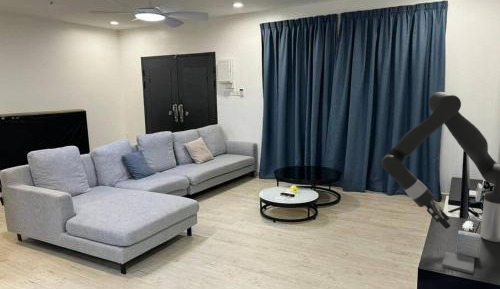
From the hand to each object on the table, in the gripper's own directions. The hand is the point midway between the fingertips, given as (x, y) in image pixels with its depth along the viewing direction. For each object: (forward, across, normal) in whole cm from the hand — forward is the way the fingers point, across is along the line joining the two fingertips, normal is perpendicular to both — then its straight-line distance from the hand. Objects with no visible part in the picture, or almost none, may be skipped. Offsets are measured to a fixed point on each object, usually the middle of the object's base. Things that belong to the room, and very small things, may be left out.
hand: (447, 223), depth 147 cm
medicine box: (+14, 0, +3) cm, 14 cm away
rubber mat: (+11, -10, +5) cm, 16 cm away
